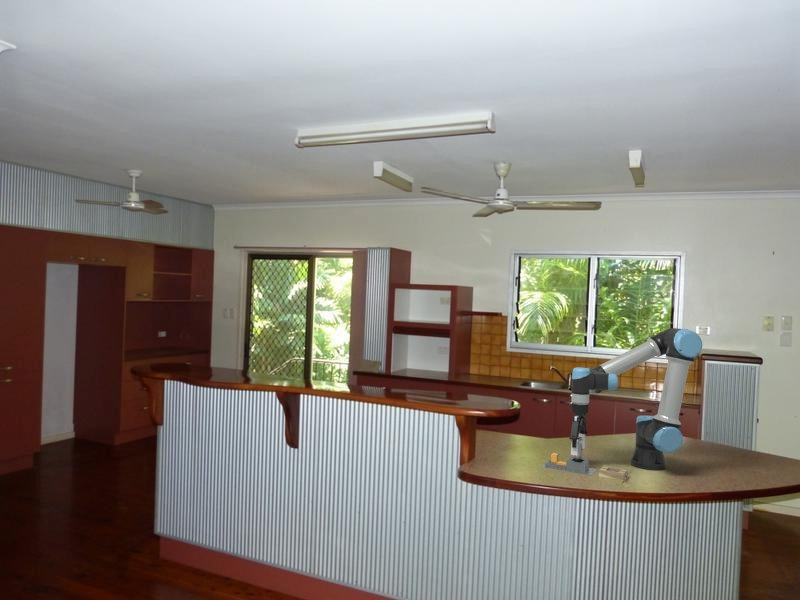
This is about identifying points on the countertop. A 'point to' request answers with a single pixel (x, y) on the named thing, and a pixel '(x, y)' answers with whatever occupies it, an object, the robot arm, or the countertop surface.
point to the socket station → (572, 466)
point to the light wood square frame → (613, 473)
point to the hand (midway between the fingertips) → (578, 451)
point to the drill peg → (579, 451)
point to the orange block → (556, 460)
